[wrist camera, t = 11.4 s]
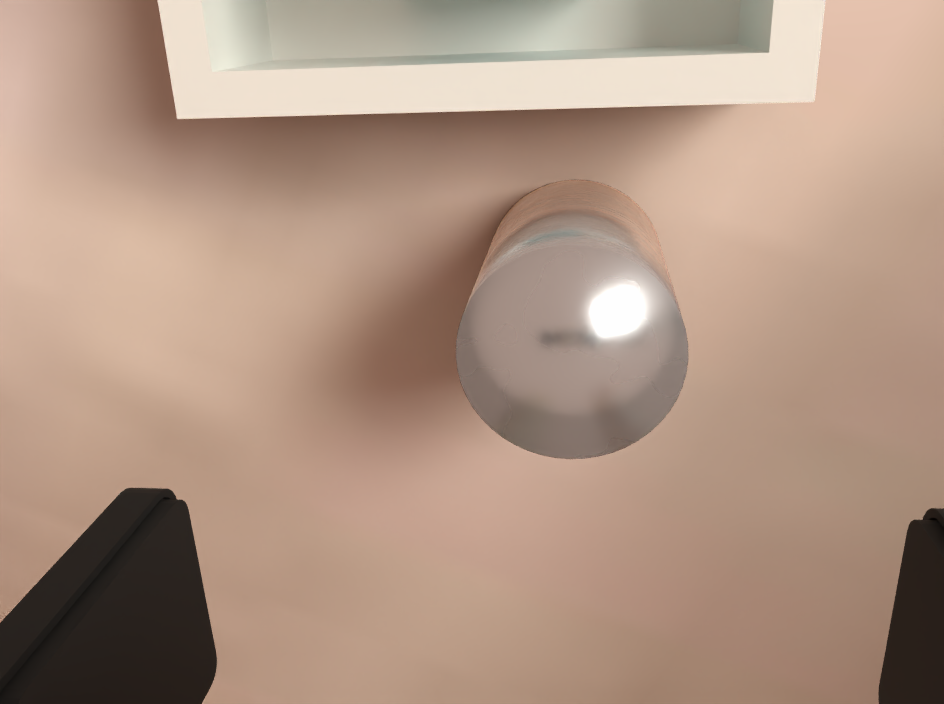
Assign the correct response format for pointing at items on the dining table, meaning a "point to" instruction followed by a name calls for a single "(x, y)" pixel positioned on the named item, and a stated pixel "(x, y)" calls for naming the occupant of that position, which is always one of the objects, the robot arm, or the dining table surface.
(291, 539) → the dining table surface
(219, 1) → the tote
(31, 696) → the robot arm
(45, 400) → the dining table surface
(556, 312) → the steel cylinder
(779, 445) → the dining table surface
